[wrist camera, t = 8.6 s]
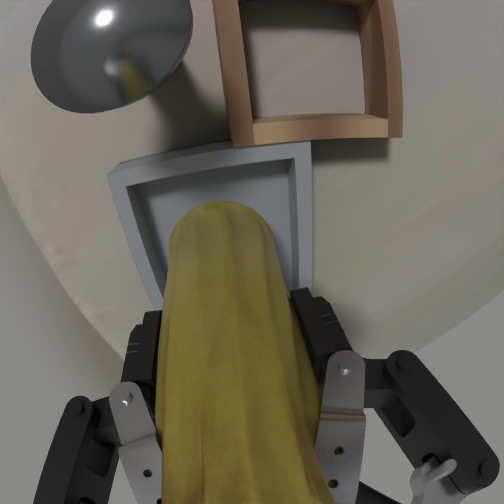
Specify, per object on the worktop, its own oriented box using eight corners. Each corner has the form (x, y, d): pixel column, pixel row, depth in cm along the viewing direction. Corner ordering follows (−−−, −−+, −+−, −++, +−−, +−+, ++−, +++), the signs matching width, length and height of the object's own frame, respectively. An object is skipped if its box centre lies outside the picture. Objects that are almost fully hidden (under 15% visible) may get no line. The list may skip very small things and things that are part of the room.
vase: (247, 299, 19) (292, 524, 7) (157, 273, 17) (130, 526, 5) (291, 222, 16) (417, 481, 4) (189, 183, 14) (160, 531, 2)
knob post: (196, 8, 12) (184, -57, 4) (206, 91, 15) (200, 88, 8) (105, 32, 12) (29, 1, 4) (116, 112, 15) (42, 135, 7)
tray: (296, 133, 18) (310, 140, 15) (301, 343, 29) (307, 363, 27) (120, 162, 17) (106, 174, 15) (189, 360, 28) (189, 382, 26)
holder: (367, -5, 12) (389, -14, 10) (379, 129, 18) (402, 137, 15) (210, -11, 11) (210, -28, 9) (230, 139, 17) (233, 148, 15)
